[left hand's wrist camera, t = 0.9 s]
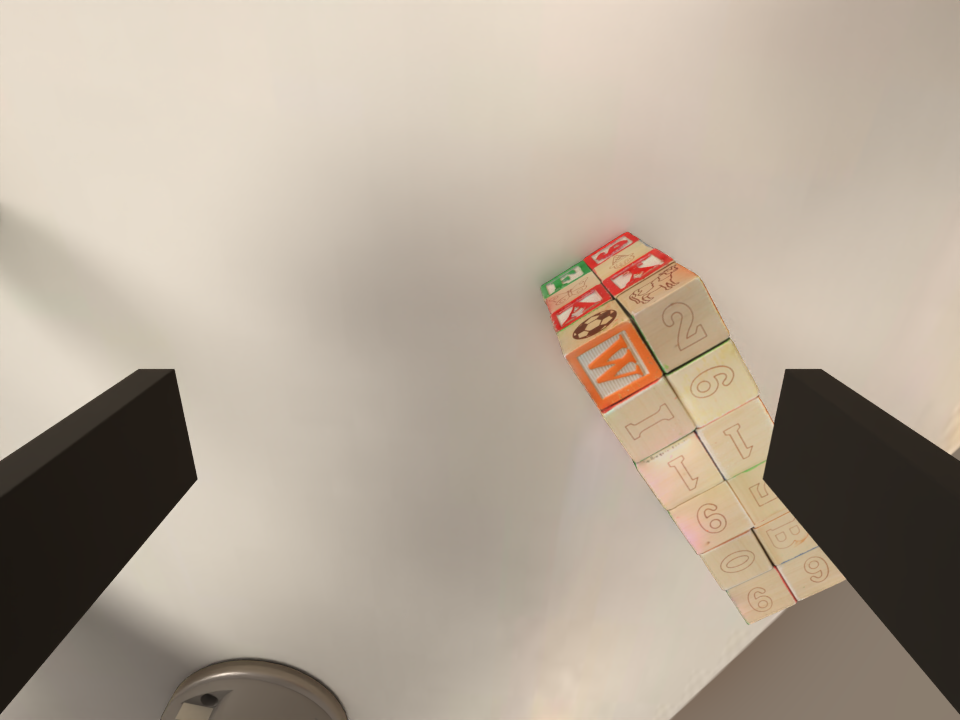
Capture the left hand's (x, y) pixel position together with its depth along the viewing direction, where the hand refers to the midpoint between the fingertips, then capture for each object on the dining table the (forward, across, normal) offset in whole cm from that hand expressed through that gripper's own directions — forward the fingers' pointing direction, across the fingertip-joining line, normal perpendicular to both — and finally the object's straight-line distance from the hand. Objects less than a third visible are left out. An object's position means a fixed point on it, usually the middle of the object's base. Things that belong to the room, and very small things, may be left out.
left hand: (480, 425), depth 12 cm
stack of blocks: (+23, -12, +10) cm, 28 cm away
